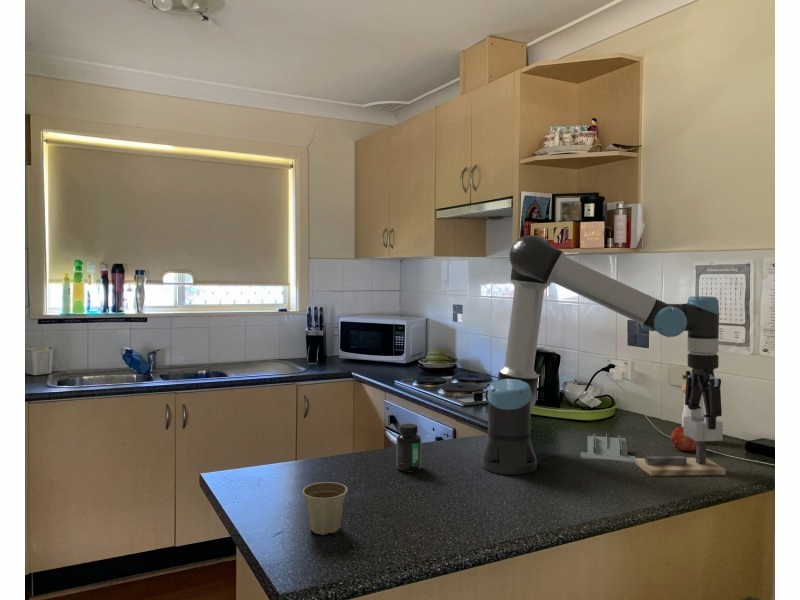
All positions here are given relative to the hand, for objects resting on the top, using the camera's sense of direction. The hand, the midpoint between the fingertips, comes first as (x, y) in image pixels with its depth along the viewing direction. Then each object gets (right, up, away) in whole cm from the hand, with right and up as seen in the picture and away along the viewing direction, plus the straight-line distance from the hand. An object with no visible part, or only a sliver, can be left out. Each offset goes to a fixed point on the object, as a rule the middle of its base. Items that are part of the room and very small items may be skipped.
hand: (702, 436), depth 161 cm
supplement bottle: (-80, -10, +2) cm, 81 cm away
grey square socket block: (0, 0, 0) cm, 0 cm away
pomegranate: (+4, -8, +18) cm, 20 cm away
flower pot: (-98, -11, -36) cm, 106 cm away
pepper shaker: (+11, -8, +28) cm, 31 cm away
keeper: (-6, -9, 0) cm, 11 cm away
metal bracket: (-21, -9, +14) cm, 27 cm away
